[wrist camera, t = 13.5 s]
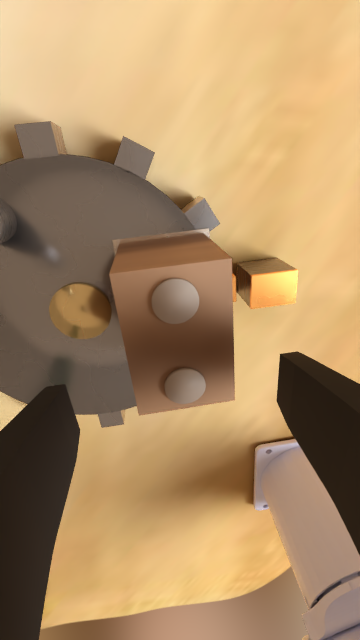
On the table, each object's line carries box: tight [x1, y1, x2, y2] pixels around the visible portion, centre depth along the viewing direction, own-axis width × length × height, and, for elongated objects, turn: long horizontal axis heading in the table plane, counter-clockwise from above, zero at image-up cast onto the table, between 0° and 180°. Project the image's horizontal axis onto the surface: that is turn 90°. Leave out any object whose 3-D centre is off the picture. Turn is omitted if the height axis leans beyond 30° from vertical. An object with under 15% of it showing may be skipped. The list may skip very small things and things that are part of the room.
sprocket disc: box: [0, 121, 236, 428], centre depth 14 cm, size 16×16×5 cm
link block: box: [109, 233, 235, 415], centre depth 13 cm, size 6×4×5 cm, turn 5°
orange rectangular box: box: [237, 258, 298, 309], centre depth 16 cm, size 2×2×3 cm
